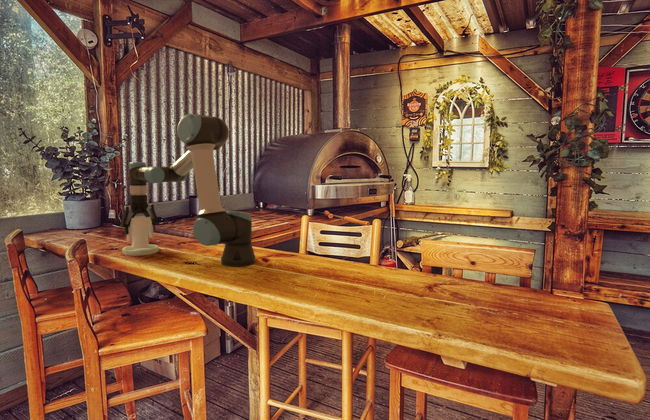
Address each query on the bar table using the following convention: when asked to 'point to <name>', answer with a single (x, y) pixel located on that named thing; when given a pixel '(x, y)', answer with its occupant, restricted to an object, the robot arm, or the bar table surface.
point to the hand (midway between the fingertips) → (140, 239)
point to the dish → (140, 250)
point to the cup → (140, 231)
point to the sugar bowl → (132, 240)
